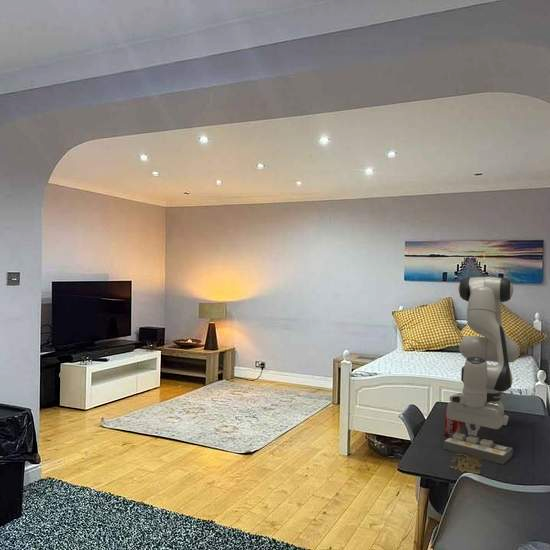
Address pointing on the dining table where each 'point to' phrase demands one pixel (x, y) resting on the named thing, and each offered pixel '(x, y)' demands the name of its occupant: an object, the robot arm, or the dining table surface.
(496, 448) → the button
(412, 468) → the dining table surface
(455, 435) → the button
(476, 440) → the button
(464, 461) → the lettering
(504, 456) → the button board
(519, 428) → the dining table surface
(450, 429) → the soda can
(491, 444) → the button
